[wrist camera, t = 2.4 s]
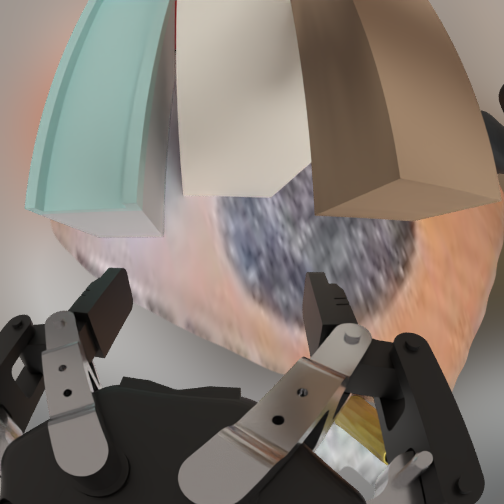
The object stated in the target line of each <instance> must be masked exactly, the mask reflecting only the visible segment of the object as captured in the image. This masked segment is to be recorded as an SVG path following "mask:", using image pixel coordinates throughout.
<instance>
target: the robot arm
mask: <svg viewBox="0 0 504 504" xmlns="http://www.w3.org/2000/svg"><path fill="white" fill-rule="evenodd" d="M499 102H500V105H501V108H502V110H503V112H504V85H503V86H502V88H501V89H500V92H499ZM481 114H482V117H483V120H484V123H485V127H486V130H487V134H488V137H489V141H490V145H491V149H492V153H493V157H494V162H495V166H496V171H497V174H499V173H501V174H504V126H502V125H501V124H500V123H499V122H498V121H497V120H496V119H495V118H494V117H493V116H491V115H490V114H488V113H487V112H485V111H481ZM132 305H133V298H132V293H131V289H130V284H129V280H128V275H127V272H126V270H125V269H124V268H108V269H107V271H106V272H105V273H104V274H103V275H102V276H101V278H98V279H97V280H95V281H94V282H92V283H91V284H90V285H89V286H88V287H87V289H86V291H84V292H83V293H82V295H81V296H80V297H79V298H78V299H77V300H76V302H75V303H74V304H73V305H72V307H71V308H70V309H69V310H68V311H60V312H56V313H54V314H52V315H51V316H50V317H49V318H48V319H47V320H46V322H45V324H40V325H33V323H32V321H31V319H30V317H29V316H28V315H19V316H16V317H14V318H12V319H11V320H10V321H9V322H8V323H7V324H6V325H5V327H4V328H3V329H2V330H1V332H0V478H1V495H0V504H475V503H476V502H477V501H478V500H479V498H480V497H481V495H482V493H483V490H484V485H485V482H484V476H483V473H482V470H481V467H480V464H479V461H478V458H477V455H476V452H475V449H474V446H473V443H472V441H471V438H470V435H469V433H468V430H467V428H466V425H465V422H464V420H463V418H462V415H461V413H460V410H459V408H458V406H457V403H456V401H455V399H454V396H453V394H452V392H451V390H450V387H449V385H448V383H447V381H446V379H445V377H444V374H443V372H442V370H441V368H440V366H439V364H438V362H437V360H436V358H435V356H434V354H433V352H432V350H431V348H430V346H429V344H428V343H427V341H426V340H425V339H424V338H423V337H421V336H419V335H417V334H414V333H401V334H399V335H398V336H396V338H395V339H394V342H393V343H392V342H385V341H379V340H375V339H372V336H371V334H370V332H369V331H368V330H367V329H366V328H364V327H363V326H361V325H358V323H357V321H356V318H355V316H354V313H353V311H352V309H351V306H350V305H349V302H348V299H347V297H346V295H345V293H344V290H343V289H342V288H340V287H339V286H338V285H337V284H329V283H328V281H327V278H326V276H325V273H324V272H307V273H306V278H305V288H304V297H303V319H304V324H305V330H306V335H307V340H308V345H309V351H310V356H311V358H310V359H308V358H306V357H302V358H301V359H299V360H298V361H297V362H296V364H295V365H294V366H293V367H292V368H291V369H290V370H289V371H288V372H287V373H286V374H285V375H284V376H283V377H282V378H281V380H280V381H279V382H278V383H277V384H276V385H275V386H274V387H273V388H272V389H271V390H270V391H269V392H268V393H267V394H266V395H265V396H264V397H263V398H262V399H261V400H260V401H259V402H255V401H253V400H251V399H248V398H244V397H241V388H231V387H212V386H209V387H201V388H192V389H183V390H176V389H172V388H169V387H166V386H164V385H161V384H158V383H155V382H152V381H149V380H143V379H136V378H130V377H123V378H122V381H121V383H120V385H113V386H109V387H105V388H102V385H101V383H100V380H99V377H98V374H97V371H96V368H95V365H94V362H93V358H94V356H95V357H100V358H105V357H106V355H107V353H108V351H109V349H110V348H111V346H112V344H113V342H114V340H115V338H116V337H117V335H118V333H119V331H120V329H121V328H122V326H123V324H124V322H125V320H126V319H127V317H128V315H129V313H130V312H131V310H132ZM18 357H20V358H21V360H22V362H23V363H24V365H25V366H24V368H23V369H22V371H21V373H20V374H19V376H18V378H17V379H16V381H14V379H13V377H12V367H13V365H14V363H15V362H16V360H17V359H18ZM44 390H46V396H47V403H48V409H49V415H50V419H49V420H47V421H45V422H44V423H42V424H40V425H38V426H37V427H35V428H33V429H32V430H30V431H29V432H26V433H25V434H23V433H24V432H25V429H26V427H27V425H28V423H29V421H30V418H31V416H32V414H33V412H34V410H35V408H36V406H37V404H38V402H39V400H40V397H41V396H42V394H43V392H44ZM352 393H353V394H359V395H365V396H371V397H373V398H374V402H375V406H376V410H377V414H378V419H379V423H380V428H381V432H382V437H383V442H384V446H385V451H386V456H387V462H388V466H387V467H386V468H385V469H384V470H383V472H382V473H381V474H380V475H379V476H378V478H377V480H376V484H375V493H374V496H373V498H372V499H371V500H368V501H365V499H364V498H363V496H362V495H361V494H360V493H359V491H358V490H356V489H355V488H354V487H353V486H351V485H350V484H349V483H348V482H347V481H346V480H344V479H343V478H342V477H341V476H340V475H339V474H338V473H336V472H335V471H334V470H333V469H332V468H331V467H330V466H328V465H327V464H326V463H325V462H324V461H323V460H322V459H321V458H320V457H318V456H317V455H316V454H315V453H314V452H315V451H316V449H317V448H318V447H319V445H320V444H321V442H322V441H323V439H324V437H325V436H326V434H327V432H328V430H329V429H330V427H331V425H332V424H333V422H334V421H335V420H336V418H337V417H338V415H339V414H340V412H341V411H342V409H343V407H344V406H345V404H346V403H347V401H348V400H349V398H350V397H351V395H352Z"/></svg>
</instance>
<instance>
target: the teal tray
mask: <svg viewBox="0 0 504 504" xmlns="http://www.w3.org/2000/svg"><path fill="white" fill-rule="evenodd" d="M173 1H174V0H89V1H88V3H87V5H86V7H85V9H84V10H83V12H82V14H81V16H80V18H79V20H78V22H77V24H76V26H75V28H74V30H73V32H72V35H71V37H70V39H69V41H68V43H67V46H66V48H65V50H64V53H63V55H62V58H61V60H60V63H59V66H58V68H57V71H56V73H55V76H54V79H53V82H52V85H51V88H50V91H49V94H48V97H47V100H46V103H45V107H44V110H43V114H42V117H41V121H40V125H39V129H38V133H37V137H36V142H35V146H34V151H33V157H32V161H31V167H30V172H29V179H28V185H27V194H26V202H25V209H27V210H29V211H32V212H34V213H37V214H39V215H41V214H59V213H81V212H108V211H142V208H143V189H144V174H145V162H146V151H147V141H148V132H149V124H150V116H151V109H152V102H153V95H154V89H155V83H156V77H157V72H158V66H159V61H160V56H161V51H162V46H163V42H164V37H165V33H166V28H167V24H168V20H169V16H170V12H171V8H172V5H173Z"/></svg>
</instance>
